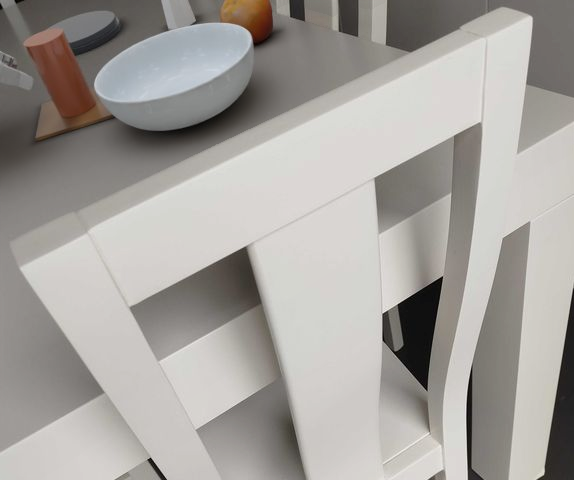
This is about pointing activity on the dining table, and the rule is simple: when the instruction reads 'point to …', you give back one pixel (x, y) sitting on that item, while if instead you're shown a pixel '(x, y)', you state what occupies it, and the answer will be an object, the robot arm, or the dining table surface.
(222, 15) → the fruit
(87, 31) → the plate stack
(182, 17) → the salt shaker
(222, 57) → the serving bowl
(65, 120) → the square wooden coaster
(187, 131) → the dining table surface
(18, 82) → the robot arm
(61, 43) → the tumbler
